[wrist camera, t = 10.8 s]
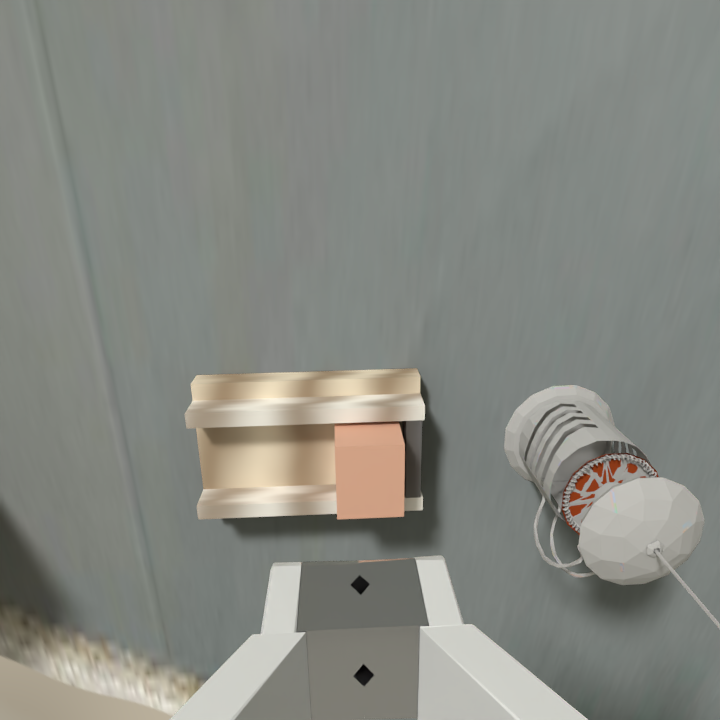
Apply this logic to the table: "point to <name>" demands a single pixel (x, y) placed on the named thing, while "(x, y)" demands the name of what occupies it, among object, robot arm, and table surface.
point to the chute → (294, 436)
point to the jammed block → (369, 470)
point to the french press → (602, 489)
